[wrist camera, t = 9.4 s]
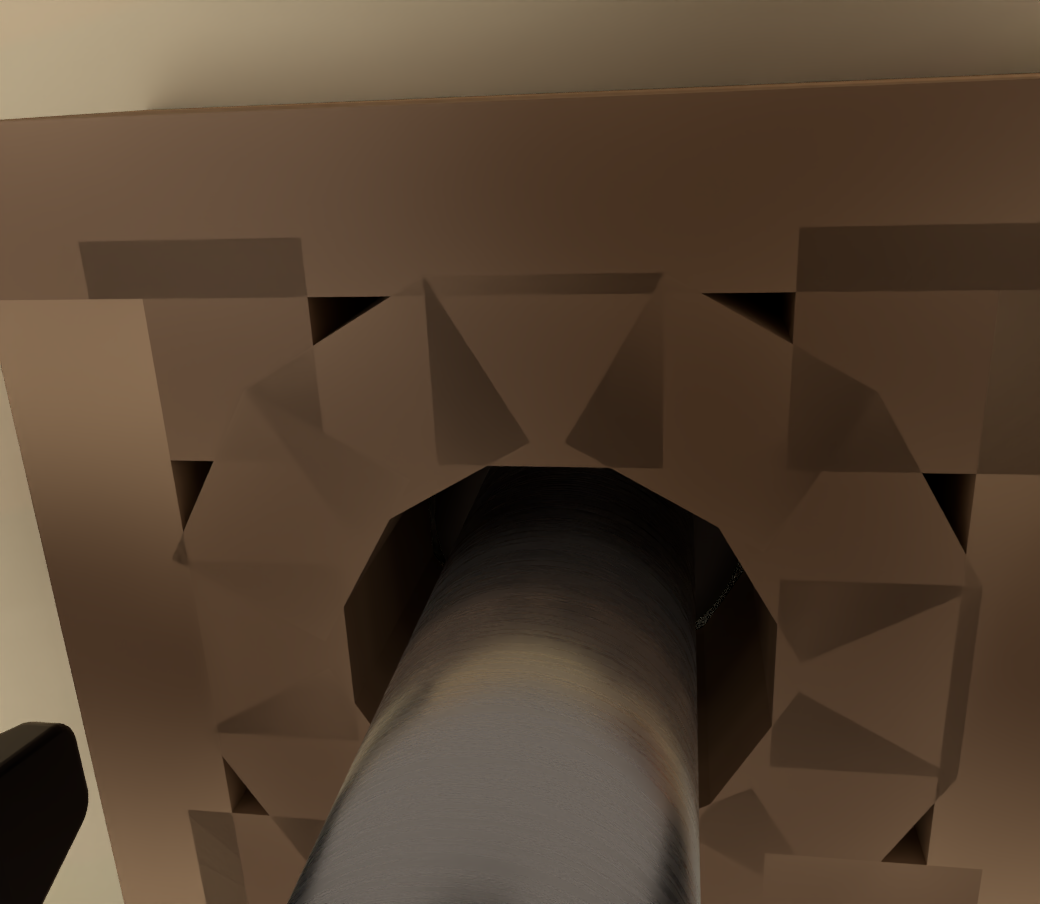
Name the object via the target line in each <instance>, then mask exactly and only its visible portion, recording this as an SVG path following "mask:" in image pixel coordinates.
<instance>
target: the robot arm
mask: <svg viewBox="0 0 1040 904" xmlns="http://www.w3.org/2000/svg"><path fill="white" fill-rule="evenodd" d="M87 807H88V788H87V784H86V780H85V776H84V771H83V767H82V763H81V759H80V754H79V750H78V746H77V741H76V738H75V735H74V733H73V731H72V730H71V728H70V727H68V726H66V725H64V724H61V723H45V722H27V723H23V724H20V725H18V726H16V727H14V728H12V729H10V730H7V731H5V732H3V733H1V734H0V904H43V902H44V900H45V898H46V896H47V894H48V892H49V890H50V888H51V886H52V884H53V882H54V880H55V878H56V876H57V874H58V871H59V869H60V867H61V865H62V863H63V861H64V859H65V857H66V855H67V853H68V851H69V849H70V847H71V845H72V843H73V841H74V839H75V837H76V835H77V833H78V831H79V829H80V827H81V825H82V823H83V820H84V818H85V815H86V812H87Z"/></svg>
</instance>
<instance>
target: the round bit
mask: <svg viewBox="0 0 1040 904" xmlns="http://www.w3.org/2000/svg"><path fill="white" fill-rule="evenodd" d="M287 904H701V896H700V840H699V784H698V728H697V672H696V616H695V560H694V517H693V513H691V512H689V511H688V510H686V509H684V508H682V507H680V506H679V505H677V504H675V503H673V502H671V501H669V500H668V499H666V498H664V497H662V496H660V495H659V494H657V493H655V492H653V491H651V490H650V489H648V488H646V487H644V486H642V485H640V484H639V483H637V482H635V481H633V480H631V479H630V478H628V477H626V476H624V475H622V474H620V473H619V472H617V471H615V470H613V469H611V468H596V467H537V466H491V467H490V469H489V471H488V473H487V475H486V477H485V479H484V481H483V483H482V486H481V488H480V490H479V492H478V494H477V496H476V498H475V501H474V503H473V505H472V507H471V509H470V511H469V514H468V516H467V518H466V520H465V522H464V524H463V526H462V529H461V531H460V533H459V535H458V537H457V539H456V541H455V544H454V546H453V548H452V550H451V552H450V554H449V557H448V559H447V561H446V563H445V565H444V567H443V569H442V572H441V574H440V576H439V578H438V580H437V582H436V584H435V587H434V589H433V591H432V593H431V595H430V597H429V600H428V602H427V604H426V606H425V608H424V610H423V612H422V615H421V617H420V619H419V621H418V623H417V625H416V628H415V630H414V632H413V634H412V636H411V638H410V640H409V643H408V645H407V647H406V649H405V651H404V653H403V655H402V658H401V660H400V662H399V664H398V666H397V668H396V671H395V673H394V675H393V677H392V679H391V681H390V683H389V686H388V688H387V690H386V692H385V694H384V696H383V698H382V701H381V703H380V705H379V707H378V709H377V711H376V714H375V716H374V718H373V720H372V722H371V724H370V726H369V729H368V731H367V733H366V735H365V737H364V739H363V741H362V744H361V746H360V748H359V750H358V752H357V754H356V757H355V759H354V761H353V763H352V765H351V767H350V769H349V772H348V774H347V776H346V778H345V780H344V782H343V784H342V787H341V789H340V791H339V793H338V795H337V797H336V800H335V802H334V804H333V806H332V808H331V810H330V812H329V815H328V817H327V819H326V821H325V823H324V825H323V828H322V830H321V832H320V834H319V836H318V838H317V840H316V843H315V845H314V847H313V849H312V851H311V853H310V855H309V858H308V860H307V862H306V864H305V866H304V868H303V871H302V873H301V875H300V877H299V879H298V881H297V883H296V886H295V888H294V890H293V892H292V894H291V896H290V898H289V901H288V903H287Z"/></svg>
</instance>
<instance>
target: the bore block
mask: <svg viewBox="0 0 1040 904" xmlns="http://www.w3.org/2000/svg"><path fill="white" fill-rule="evenodd" d="M0 363H1V368H2V372H3V376H4V381H5V385H6V389H7V394H8V398H9V403H10V407H11V411H12V416H13V420H14V424H15V429H16V433H17V437H18V442H19V446H20V450H21V455H22V459H23V464H24V468H25V472H26V477H27V481H28V485H29V490H30V494H31V498H32V503H33V507H34V511H35V516H36V520H37V524H38V529H39V533H40V538H41V542H42V546H43V551H44V555H45V559H46V564H47V568H48V572H49V577H50V581H51V585H52V590H53V594H54V599H55V603H56V607H57V612H58V616H59V620H60V625H61V629H62V633H63V638H64V642H65V646H66V651H67V655H68V659H69V664H70V668H71V673H72V677H73V681H74V686H75V690H76V694H77V699H78V703H79V707H80V712H81V716H82V720H83V725H84V729H85V734H86V738H87V742H88V747H89V751H90V755H91V760H92V764H93V768H94V773H95V777H96V781H97V786H98V790H99V794H100V799H101V803H102V808H103V812H104V816H105V821H106V825H107V829H108V834H109V838H110V842H111V847H112V851H113V855H114V860H115V864H116V869H117V873H118V877H119V882H120V886H121V890H122V895H123V899H124V903H125V904H287V903H288V901H289V898H290V896H291V894H292V892H293V890H294V888H295V886H296V883H297V881H298V879H299V877H300V875H301V873H302V871H303V868H304V866H305V864H306V862H307V860H308V858H309V855H310V853H311V851H312V849H313V847H314V845H315V843H316V840H317V838H318V836H319V834H320V832H321V830H322V828H323V825H324V823H325V821H326V819H327V817H328V815H329V812H330V810H331V808H332V806H333V804H334V802H335V800H336V797H337V795H338V793H339V791H340V789H341V787H342V784H343V782H344V780H345V778H346V776H347V774H348V772H349V769H350V767H351V765H352V763H353V761H354V759H355V757H356V754H357V752H358V750H359V748H360V746H361V744H362V741H363V739H364V737H365V735H366V733H367V731H368V729H369V726H370V724H371V722H372V720H373V718H374V716H375V714H376V711H377V709H378V707H379V705H380V703H381V701H382V698H383V696H384V694H385V692H386V690H387V688H388V686H389V683H390V681H391V679H392V677H393V675H394V673H395V671H396V668H397V666H398V664H399V662H400V660H401V658H402V655H403V653H404V651H405V649H406V647H407V645H408V643H409V640H410V638H411V636H412V634H413V632H414V630H415V628H416V625H417V623H418V621H419V619H420V617H421V615H422V612H423V610H424V608H425V606H426V604H427V602H428V600H429V597H430V595H431V593H432V591H433V589H434V587H435V584H436V582H437V580H438V578H439V576H440V574H441V572H442V569H443V567H442V565H441V564H440V562H439V561H438V559H437V558H436V557H435V555H434V554H433V546H432V533H431V521H430V508H429V497H431V496H433V495H435V494H436V495H435V522H436V529H437V535H438V539H439V543H440V546H441V550H442V553H443V555H444V558H445V560H446V561H447V559H448V557H449V554H450V552H451V550H452V548H453V546H454V544H455V541H456V539H457V537H458V535H459V533H460V531H461V529H462V526H463V524H464V522H465V520H466V518H467V516H468V514H469V511H470V509H471V507H472V505H473V503H474V501H475V498H476V496H477V494H478V492H479V490H480V488H481V486H482V483H483V481H484V479H485V477H486V475H487V473H488V471H489V469H490V467H491V466H537V467H596V468H611V469H613V470H615V471H617V472H619V473H620V474H622V475H624V476H626V477H628V478H630V479H631V480H633V481H635V482H637V483H639V484H640V485H642V486H644V487H646V488H648V489H650V490H651V491H653V492H655V493H657V494H659V495H660V496H662V497H664V498H666V499H668V500H669V501H671V502H673V503H675V504H677V505H679V506H680V507H682V508H684V509H686V510H688V511H689V512H691V513H693V517H694V560H695V616H696V621H697V620H699V619H700V618H701V617H702V616H703V615H704V614H705V613H706V612H707V611H708V610H709V609H710V608H711V607H712V606H713V604H714V603H715V602H716V601H717V599H718V598H719V597H720V596H721V594H722V593H723V591H724V589H725V588H726V586H727V584H728V583H729V581H730V579H731V577H732V575H733V573H734V570H735V568H736V566H737V563H738V560H739V562H740V564H741V565H742V567H743V569H744V571H743V573H742V574H741V576H740V577H739V578H738V580H737V581H736V583H735V584H734V585H733V587H732V588H731V590H730V591H729V592H728V594H727V595H726V597H725V598H724V599H723V601H722V602H721V604H720V605H719V606H718V608H717V609H716V611H715V612H714V613H713V615H712V616H711V617H710V619H709V620H708V622H707V623H706V624H705V626H704V627H703V628H701V629H698V630H696V672H697V728H698V784H699V840H700V896H701V904H1040V73H1021V74H997V75H973V76H949V77H925V78H902V79H878V80H854V81H830V82H806V83H782V84H758V85H735V86H711V87H687V88H663V89H639V90H615V91H592V92H568V93H544V94H520V95H496V96H472V97H448V98H425V99H401V100H377V101H353V102H329V103H305V104H282V105H258V106H234V107H210V108H186V109H162V110H140V111H125V112H110V113H95V114H80V115H65V116H50V117H35V118H20V119H5V120H0Z"/></svg>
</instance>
